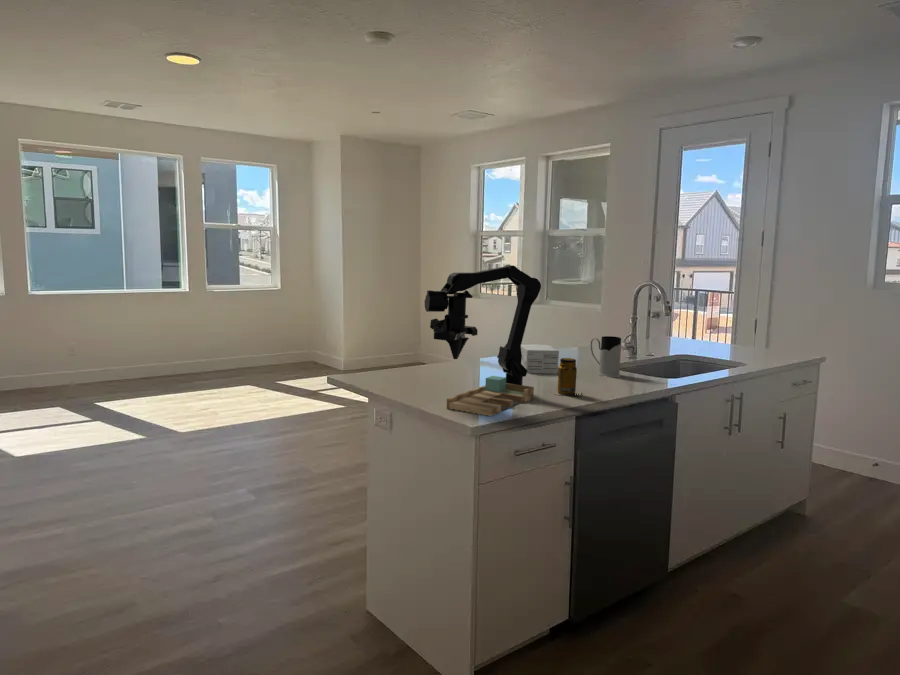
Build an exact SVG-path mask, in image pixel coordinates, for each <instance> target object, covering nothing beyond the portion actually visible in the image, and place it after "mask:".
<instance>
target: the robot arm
mask: <svg viewBox="0 0 900 675" xmlns="http://www.w3.org/2000/svg"><path fill="white" fill-rule="evenodd" d="M505 279H509V281H510V282H512V284H514V285H515V286H516V287H517V289H516V297H517V305H516V306H515V307H516V309H515V311H514V316H513V320H512V322H511V323H512V324H511V327H510V331H509V334H508V335H509V336H508V337H507V338H508V339H507V342H506V344H505V345H504V346H501V345H500V346H499V349H498V355H497V356H496V358H497V363H498V365H499V367H500V368H502V371H503V373H505V378H506V383H510V384H516V385H523V378H524V377H527V374H528V373H527V369H526V368H525V367H524V366H523V365H522V364H521V360H522V352H521V344H523V343H522V342H523V338H524V335H525V332H526V328H527V323H528V320H529V315H530V312H531V309H532V308H531V307H532V305H533V304H534V302H535V301H536V300H537V298H538V296H539V294H540V292H541V290H542V284H541V282H540V280H539V279H538V278H536V277H531V276H530V275H529V274H527V273H526V272H524V271H522V270H520V269H519V268H518V267H517V266H515V265H511V264H509V265H508V264H507V265H505V266H500V267H495V268H490V269H486V270H479V271H475V272H451V273H450V274H449V275H448V277H447V280H446V283H445V284H444V285H443V287H442V288H441V290H429V289H428V290H426V295H425V299H424V309H425V311H426V312H429V313H433V312H435V313H436V312H437V313H438V312H439V313H440V312H445V310H447V314H445V315H444V319H440V320H439V319H438V318H433V319H430V324H429V328H430V329H431V330H433V340H438V341H445V342H446V343H447V344H448V346H449V348H450V352H451V355H452V359H453V360H458V358H459V357H460V354H461V353H462V351H463V348H464V347H465V345H466V343H467V341H468V340H469V337H466V335H470V336H472V337H475V336H478V329H477V327H476V326H471V325H470V326H469V325H466V319H468V318H469V315H468V314H466V309H467V308H466V307H467V306H466V305H467V299H472V298H473V297H474V296H473V295H472V294H471V293H470V292H469V291H468V290H469V289H471V288H473V287H475V286H477V285H479V284H484V283H488V282H494V281H500V280H505Z"/></svg>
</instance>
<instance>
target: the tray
mask: <svg viewBox="0 0 900 675" xmlns="http://www.w3.org/2000/svg"><path fill="white" fill-rule="evenodd" d="M534 391H535V388H534V386H529V385H523V384H522V385H516V384H510V383H506V390H503V391H501V392H495V391H488V390H485V385H482V386H479V387H477V388H474V389H473V388H472V389H471V390H468V391H465V392H462V393H459V394H457V395H453V396H450V397H448V398H446V409H447V408H449V409H448V410H452V409H455V410H454V411H458V410H461V411H460V412H463V411H466V412H465V413H469V412H472V413H471V414H475V413H477V414H476V415H480V414H482V415H481V416H486V415H488V417H492V415H493V416H494V414H495V415H497V414H499V413H501V411H502V412H504V411H505V410H509V409H511V408H513V407H516V406H518V405H519V403H520V404H522V403H528V402H530V401H532V400H534V393H535V392H534ZM527 401H528V402H527ZM521 402H522V403H521ZM510 407H511V408H510Z"/></svg>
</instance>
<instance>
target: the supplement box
mask: <svg viewBox="0 0 900 675" xmlns="http://www.w3.org/2000/svg"><path fill="white" fill-rule="evenodd" d="M521 352H522V360H521V364H522V365H523V366H524V367H525V368H526V369H527V374H528V373H529V374H558V373H559V356H560V351H559V350H558V349H556V348H554V347H553V346H551V345H550V344H523V343H521Z"/></svg>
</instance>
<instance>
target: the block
mask: <svg viewBox="0 0 900 675" xmlns="http://www.w3.org/2000/svg"><path fill="white" fill-rule="evenodd" d="M484 386H485V390H488V391H495V392H501V391H503V390H506V376H505V377H503V376H497V375H496V376H495V375H491V376H489V377H488V376H487V377H486V378H485V385H484Z"/></svg>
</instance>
